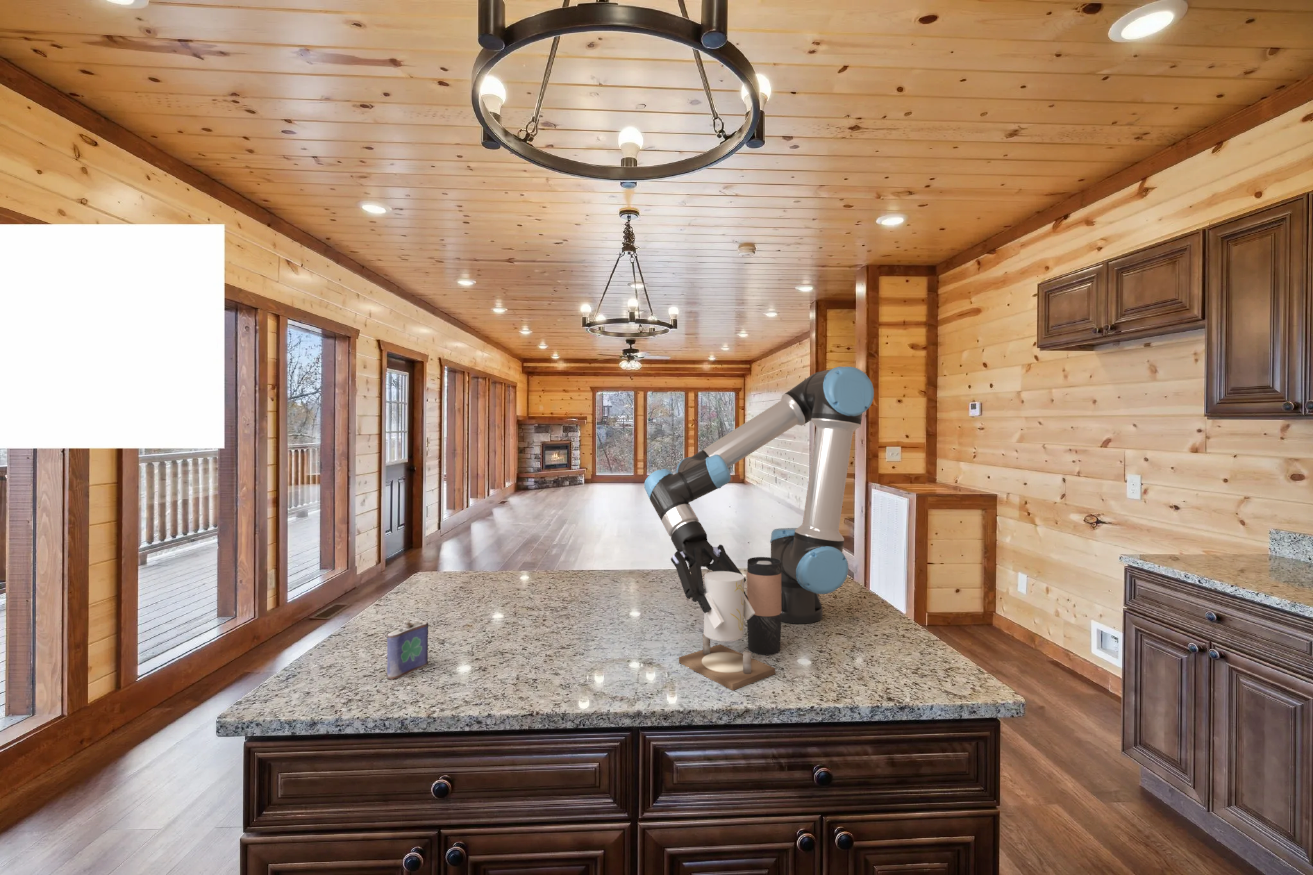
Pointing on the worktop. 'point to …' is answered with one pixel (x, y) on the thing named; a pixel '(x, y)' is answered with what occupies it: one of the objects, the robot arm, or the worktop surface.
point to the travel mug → (764, 605)
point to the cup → (725, 604)
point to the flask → (407, 649)
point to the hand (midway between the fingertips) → (735, 620)
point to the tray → (726, 665)
